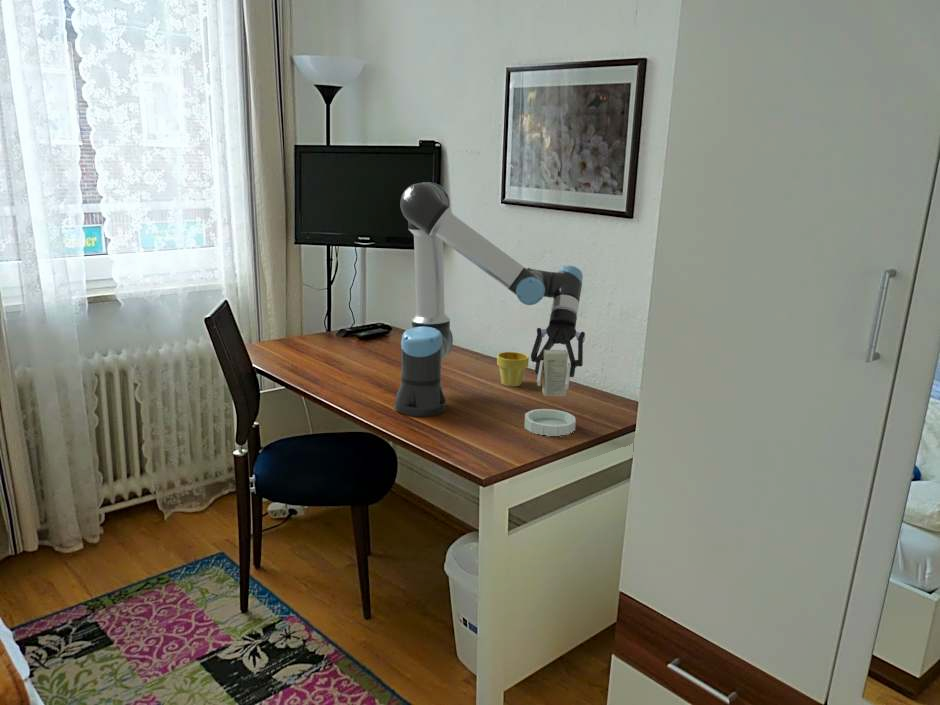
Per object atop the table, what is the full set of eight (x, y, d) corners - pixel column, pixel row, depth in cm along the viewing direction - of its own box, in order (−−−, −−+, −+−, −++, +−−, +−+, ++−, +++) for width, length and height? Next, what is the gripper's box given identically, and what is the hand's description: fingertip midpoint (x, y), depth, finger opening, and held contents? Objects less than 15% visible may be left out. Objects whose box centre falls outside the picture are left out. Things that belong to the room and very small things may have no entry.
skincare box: (563, 391, 206) (566, 349, 203) (566, 396, 202) (569, 353, 199) (540, 391, 206) (543, 349, 203) (542, 396, 202) (545, 353, 198)
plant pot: (524, 389, 239) (526, 360, 237) (493, 386, 241) (494, 357, 239) (528, 381, 249) (530, 353, 247) (498, 378, 251) (500, 350, 249)
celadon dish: (540, 439, 197) (541, 428, 196) (515, 422, 209) (515, 412, 209) (584, 432, 203) (585, 422, 203) (557, 416, 215) (557, 406, 215)
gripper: (598, 324, 212) (589, 395, 200) (530, 319, 216) (517, 387, 205) (598, 310, 205) (589, 382, 194) (528, 304, 210) (515, 374, 199)
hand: (552, 384), depth 200 cm, fingers closed on skincare box, 7 cm apart
